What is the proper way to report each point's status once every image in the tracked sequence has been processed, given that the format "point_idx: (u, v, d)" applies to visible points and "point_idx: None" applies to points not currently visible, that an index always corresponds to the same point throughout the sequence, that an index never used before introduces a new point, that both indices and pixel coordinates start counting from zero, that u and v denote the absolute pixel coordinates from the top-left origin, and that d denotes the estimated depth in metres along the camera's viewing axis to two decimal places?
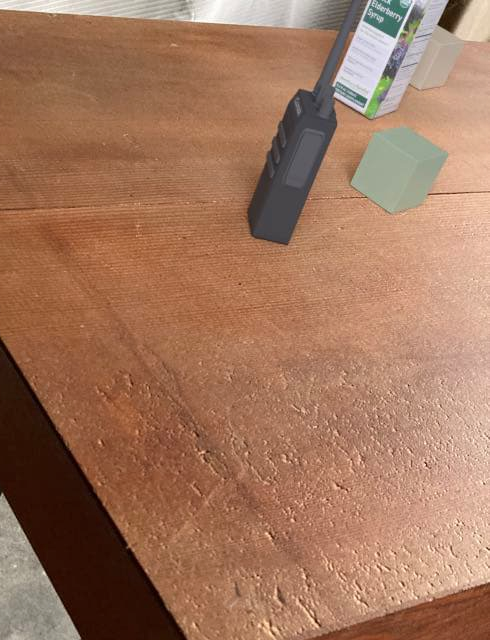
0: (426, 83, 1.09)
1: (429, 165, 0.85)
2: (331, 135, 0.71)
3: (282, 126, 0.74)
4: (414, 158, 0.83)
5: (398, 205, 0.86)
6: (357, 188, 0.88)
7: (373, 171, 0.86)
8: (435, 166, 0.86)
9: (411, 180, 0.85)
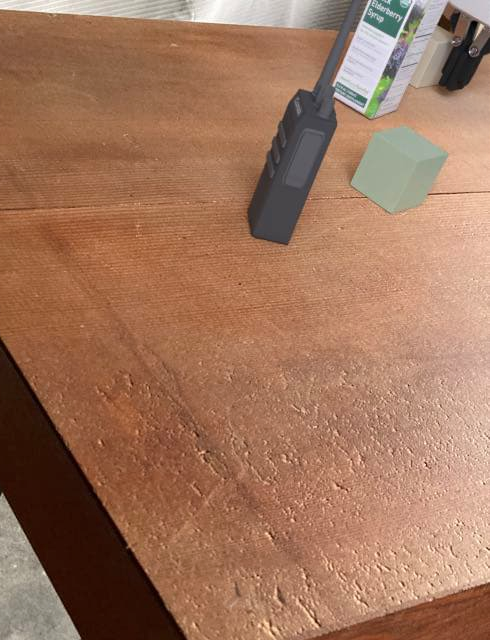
0: (423, 82, 1.09)
1: (429, 165, 0.85)
2: (331, 135, 0.71)
3: (282, 126, 0.74)
4: (414, 158, 0.83)
5: (398, 205, 0.86)
6: (357, 188, 0.88)
7: (373, 171, 0.86)
8: (435, 166, 0.86)
9: (411, 180, 0.85)
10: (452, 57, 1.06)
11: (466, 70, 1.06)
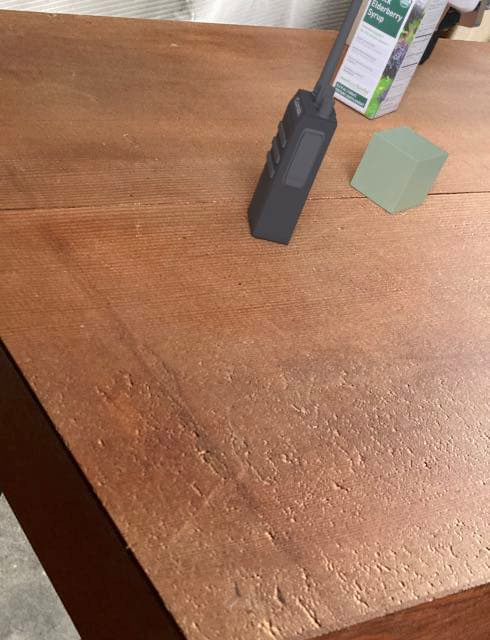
0: None
1: (429, 165, 0.85)
2: (331, 135, 0.71)
3: (282, 126, 0.74)
4: (414, 158, 0.83)
5: (398, 205, 0.86)
6: (357, 188, 0.88)
7: (373, 171, 0.86)
8: (435, 166, 0.86)
9: (411, 180, 0.85)
10: None
11: None
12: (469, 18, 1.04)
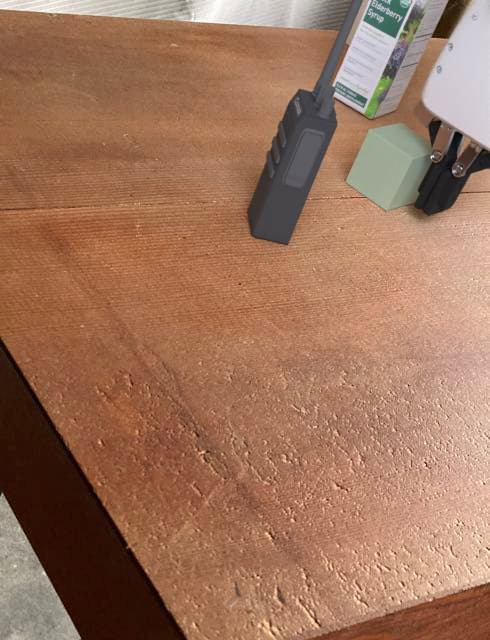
0: None
1: (424, 162, 0.85)
2: (331, 135, 0.71)
3: (282, 126, 0.74)
4: (409, 155, 0.83)
5: (393, 202, 0.86)
6: (352, 185, 0.88)
7: (368, 168, 0.86)
8: (430, 163, 0.86)
9: (406, 177, 0.85)
10: (431, 175, 0.83)
11: (449, 192, 0.83)
12: None
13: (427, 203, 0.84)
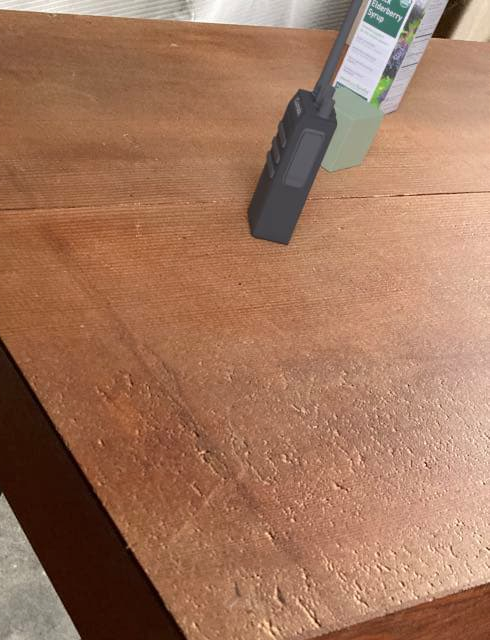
0: None
1: (365, 124, 0.87)
2: (331, 135, 0.71)
3: (282, 126, 0.74)
4: (350, 117, 0.86)
5: (336, 163, 0.89)
6: None
7: None
8: (372, 125, 0.88)
9: (348, 139, 0.87)
10: None
11: None
12: None
13: None
